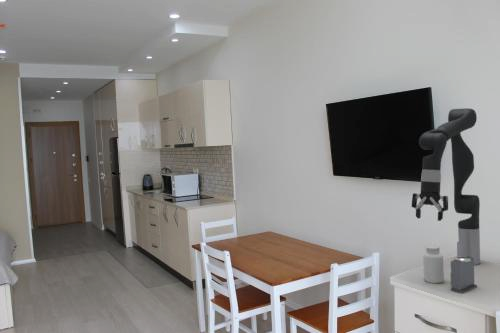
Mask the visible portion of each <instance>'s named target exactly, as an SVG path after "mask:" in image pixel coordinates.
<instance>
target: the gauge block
mask: <svg viewBox="0 0 500 333" xmlns="http://www.w3.org/2000/svg"><path fill="white" fill-rule="evenodd" d="M453 258H454V260H450V273H449V274H450V275H449V276H450V285H451V286H450V291H452V292H455V293H460V294H462V295H463V294H465V293H467V292H469V291H472V290H474V289H476V288H478V284H475V265H474V258H472V257H467V256H457V255H455V256H453Z"/></svg>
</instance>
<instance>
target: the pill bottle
mask: <svg viewBox="0 0 500 333" xmlns="http://www.w3.org/2000/svg"><path fill="white" fill-rule="evenodd" d="M425 250H426V252H424V254H423V255H422V256H423V277H424V281H425V282H427V283H432V284H439V283H440V284H441V283H443V282H444V279H445V277H444V276H445V274H444V273H445V271H444V270H445V268H444V255H443V254H442V252H440V246H438V245H427V246H425Z"/></svg>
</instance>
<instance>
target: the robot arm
mask: <svg viewBox="0 0 500 333" xmlns="http://www.w3.org/2000/svg"><path fill="white" fill-rule="evenodd" d="M476 123H477V112H476V111H475V109H473V108H468V107H467V108H465V107H464V108H453V109H451V110H449V112H448V117H447V122H444V123H442V124H441V125H439V126H438V127H436V128H434V129H431V130H428V131H426V132H424V133H422V134H421V136H420V137H419V139H418V144H419V147H420V148H421V149H423V150H425V151H433V153H432V154H429V155H424V156H423V157H422V166H421V168H422V169H421V170H422V171H421V178H420V192H419V193H416V192H415V193H412V199H411V208H414V209H415V217H416V218H417V219H421V217H422V216H421V213H422V207H423V206H425V205H426V206H427V205H429V206H434V207H435V208H436V210H437V211H438V212H437V221H438V222H440V221H442V220H443V218H444V212H445V211H448V210H449V196H448V195H443V196H442V195H441V183H442V182H441V180H442V175H441V171H442V170H441V165H442V158H443V154H444V152H445V149H446V148H447V143H448V141H449V140H450V142H451V143H450V144H451V162H452V164H451V165H452V173H453V174H452V175H453V206H454V211H455V213H457V214H464V215H465V214H466V215H471V216H470V217H468V218H465V219H461V220H459V221H457V222H458V223H457V228H458V229H457V230H458V231H457V233H458V235H457V237H458V241H457V243H456V256H467V257H472V258H474V266H477V265H480V264H481V243H480V242H481V238H480V207H481V206H480V205H481V204H480V197H479V195H477V194H463V193H462V192H463V188H464V186H465V184H466V183H467V181H468V180H469V178H470V177H471V175H472V174H473V172H474V169H475V158H474V153H473V152H472V150H471V148H470V147H469V146H468V145H467V143H466V142H465V141H464V139H463V136H462V135H461V133H462V132H464V131H466V130H470V129H471V128H473V127H475V125H476ZM419 198H420V201H419V202H418V199H419ZM440 200H441V201H442V204H441V203H440Z"/></svg>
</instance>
